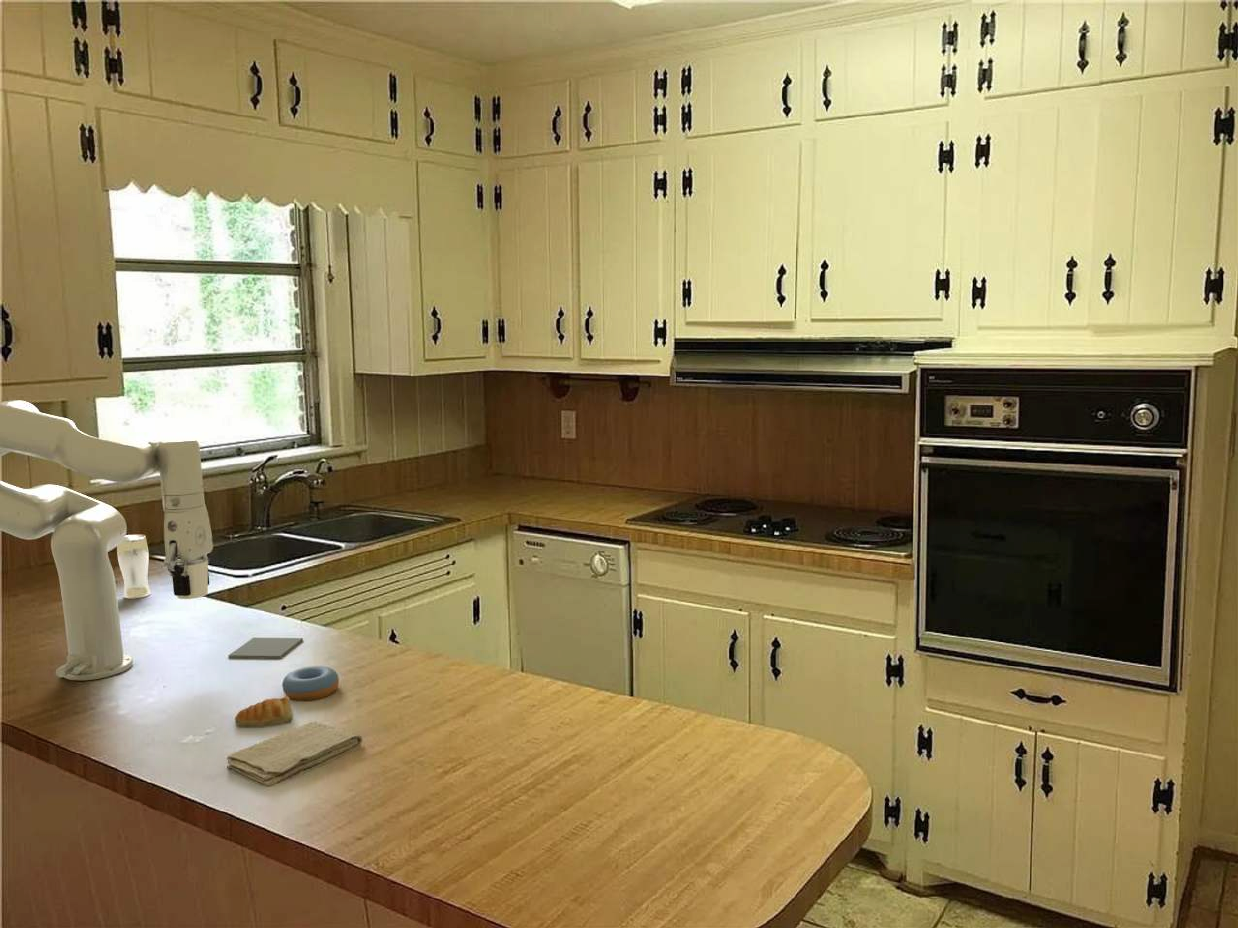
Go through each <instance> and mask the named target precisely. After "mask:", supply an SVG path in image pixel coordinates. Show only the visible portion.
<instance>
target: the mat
mask: <svg viewBox="0 0 1238 928" xmlns="http://www.w3.org/2000/svg"><path fill="white" fill-rule="evenodd" d="M303 641H304V638H303V637H252V638H251V639H249V640H248V641H247V642H245V643H244V644H242V645H241V646H240V647H238V648H236V649H235V650H234V651H232V652H231V653H230V654H228V659H255V658H273V659H274V658H276V659H274V660H279V659H282V658H283V657H284V656H286V655H287V654H289V652H290V650H291V651H292V650H293V649H294V648H296V647H297V646H299V645H300V644H301V643H302V642H303ZM285 654H286V655H285ZM273 659H272V660H273Z"/></svg>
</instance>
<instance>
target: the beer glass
mask: <svg viewBox="0 0 1238 928" xmlns="http://www.w3.org/2000/svg"><path fill="white" fill-rule="evenodd" d="M116 553H117V560H118V561H117V562H118V565H119V568H120V572H121V575H122V578H123V583H124V589H123V590H124V591H123V597H124V598H125V599H126V598H127V599H128V600H135V599H136V600H137V599H143V598H146V597H148V596H151V594H152V593H151V592H152V591H151V590H150V586H149V581H148V576H149V575H148V572H149V561H150V560H149V557H150V556H149V547H148V542H147V537H146V535H145V534H140V533H139V534H138V533H137V534H128V535H127V534H126V535H125V537H124V539H123V541H122V542H121V543H120V544H119V545H118V546H116Z"/></svg>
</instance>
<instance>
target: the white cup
mask: <svg viewBox="0 0 1238 928" xmlns="http://www.w3.org/2000/svg"><path fill="white" fill-rule="evenodd" d="M178 560H183V559H182V558H179V559H178ZM208 560H209V558H208V559H207V558H203V557H200V558H198V559H196V560H194V561H191V562H188V568H187V575H189V579H190V590H191V594H190V595H189V596H176V597H177V599H180V600H181V599H182V600H191V599H197V598H202V597H204V596H207V595H208V594H209V592H208V590H209V589H208V586H209V585H208V573H209V566H208V565H209V564H208ZM177 565H179V566H180V567H181V569H182V564H177Z"/></svg>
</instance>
